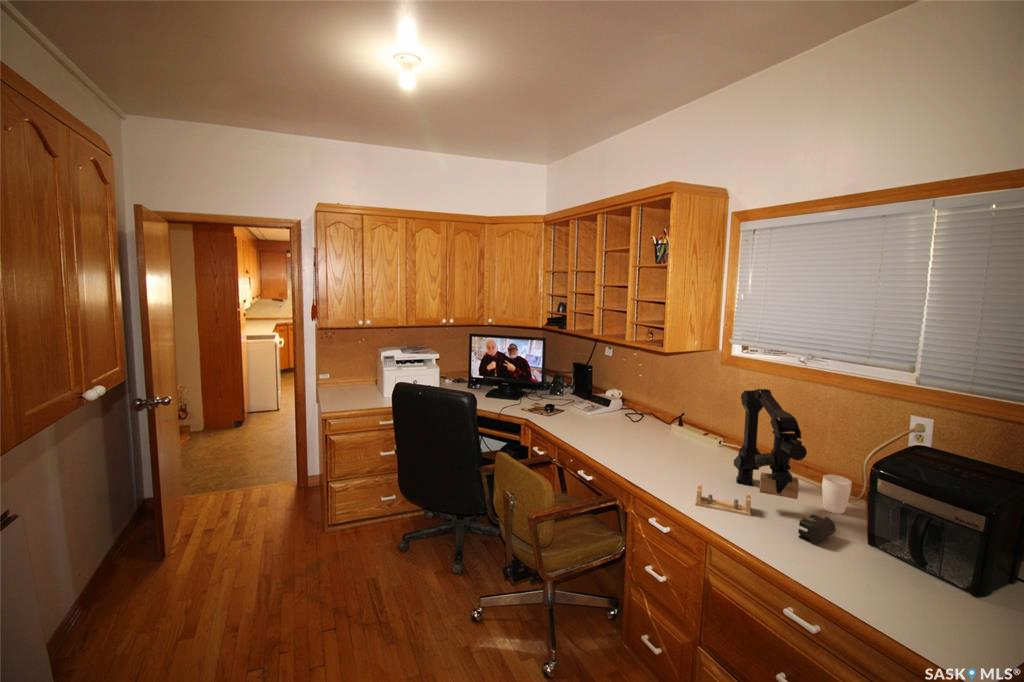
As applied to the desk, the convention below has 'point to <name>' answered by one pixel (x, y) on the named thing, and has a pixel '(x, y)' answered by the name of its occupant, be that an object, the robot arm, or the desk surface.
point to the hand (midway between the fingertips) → (778, 490)
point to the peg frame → (724, 503)
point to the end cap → (816, 529)
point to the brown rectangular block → (770, 486)
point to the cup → (835, 493)
